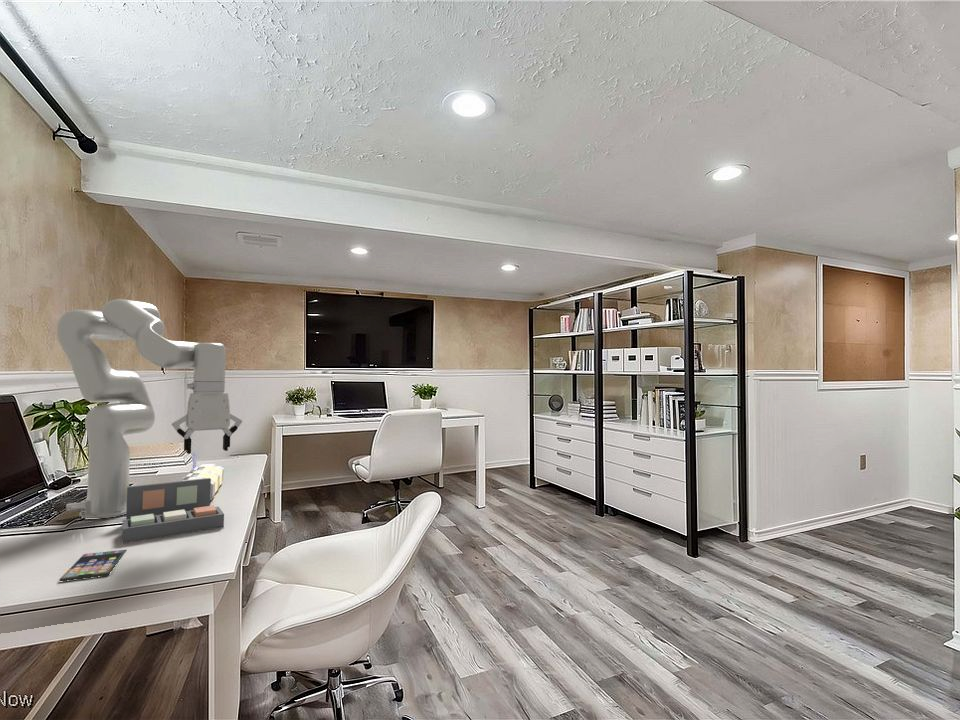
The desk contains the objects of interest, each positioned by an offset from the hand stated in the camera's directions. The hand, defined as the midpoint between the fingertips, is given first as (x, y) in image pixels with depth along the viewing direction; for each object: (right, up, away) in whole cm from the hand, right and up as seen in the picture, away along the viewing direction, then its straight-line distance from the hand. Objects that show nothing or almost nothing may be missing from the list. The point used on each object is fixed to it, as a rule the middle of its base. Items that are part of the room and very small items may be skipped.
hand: (207, 451), depth 132 cm
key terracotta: (0, -18, 0) cm, 18 cm away
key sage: (-12, -18, -9) cm, 23 cm away
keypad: (-9, -20, 0) cm, 22 cm away
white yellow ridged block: (-19, -21, +31) cm, 42 cm away
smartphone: (-9, -20, -27) cm, 35 cm away
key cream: (-6, -18, -5) cm, 19 cm away
